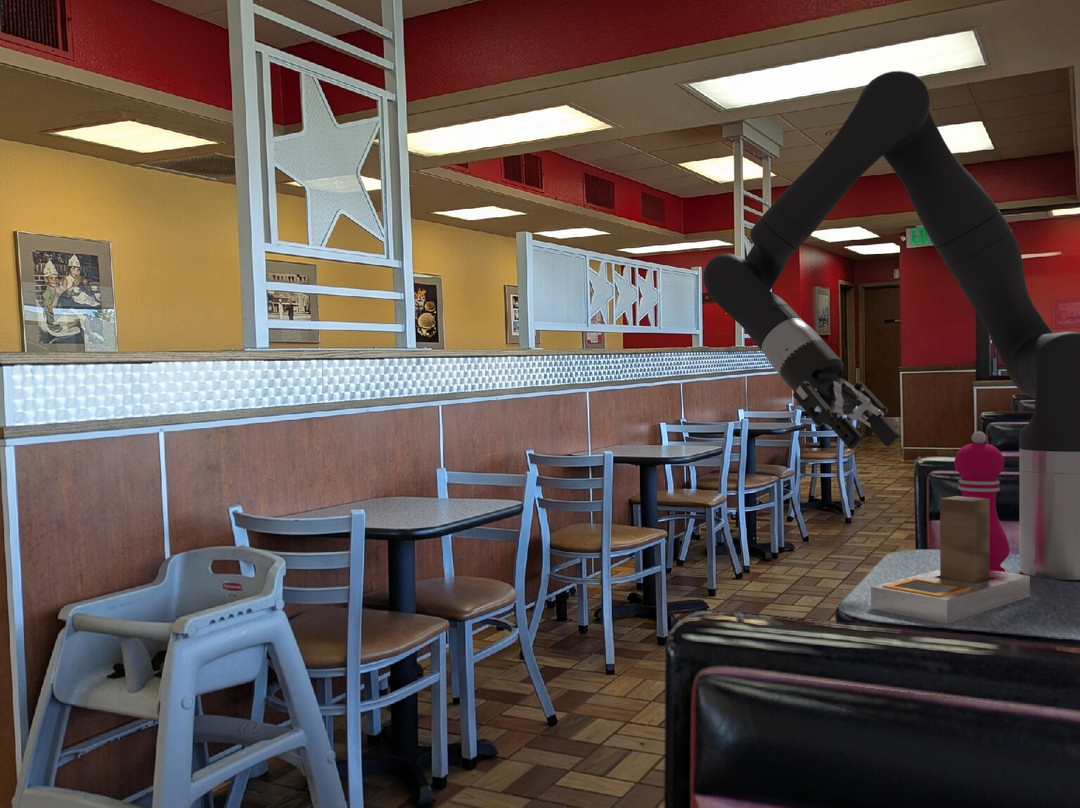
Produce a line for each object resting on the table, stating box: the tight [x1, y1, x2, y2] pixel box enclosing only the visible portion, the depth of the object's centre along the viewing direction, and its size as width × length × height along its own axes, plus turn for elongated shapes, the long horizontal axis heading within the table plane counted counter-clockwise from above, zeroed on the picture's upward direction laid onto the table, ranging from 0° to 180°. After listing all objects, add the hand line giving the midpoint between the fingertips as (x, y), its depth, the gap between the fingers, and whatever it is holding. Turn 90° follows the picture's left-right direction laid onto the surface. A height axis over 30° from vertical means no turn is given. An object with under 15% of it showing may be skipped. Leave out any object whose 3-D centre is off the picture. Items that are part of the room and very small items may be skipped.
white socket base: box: [870, 569, 1031, 624], centre depth 109 cm, size 20×9×3 cm, turn 129°
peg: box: [939, 495, 989, 584], centre depth 111 cm, size 4×4×12 cm
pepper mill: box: [954, 430, 1010, 572], centre depth 123 cm, size 7×7×20 cm
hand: (876, 443), depth 119 cm, fingers open, 8 cm apart
